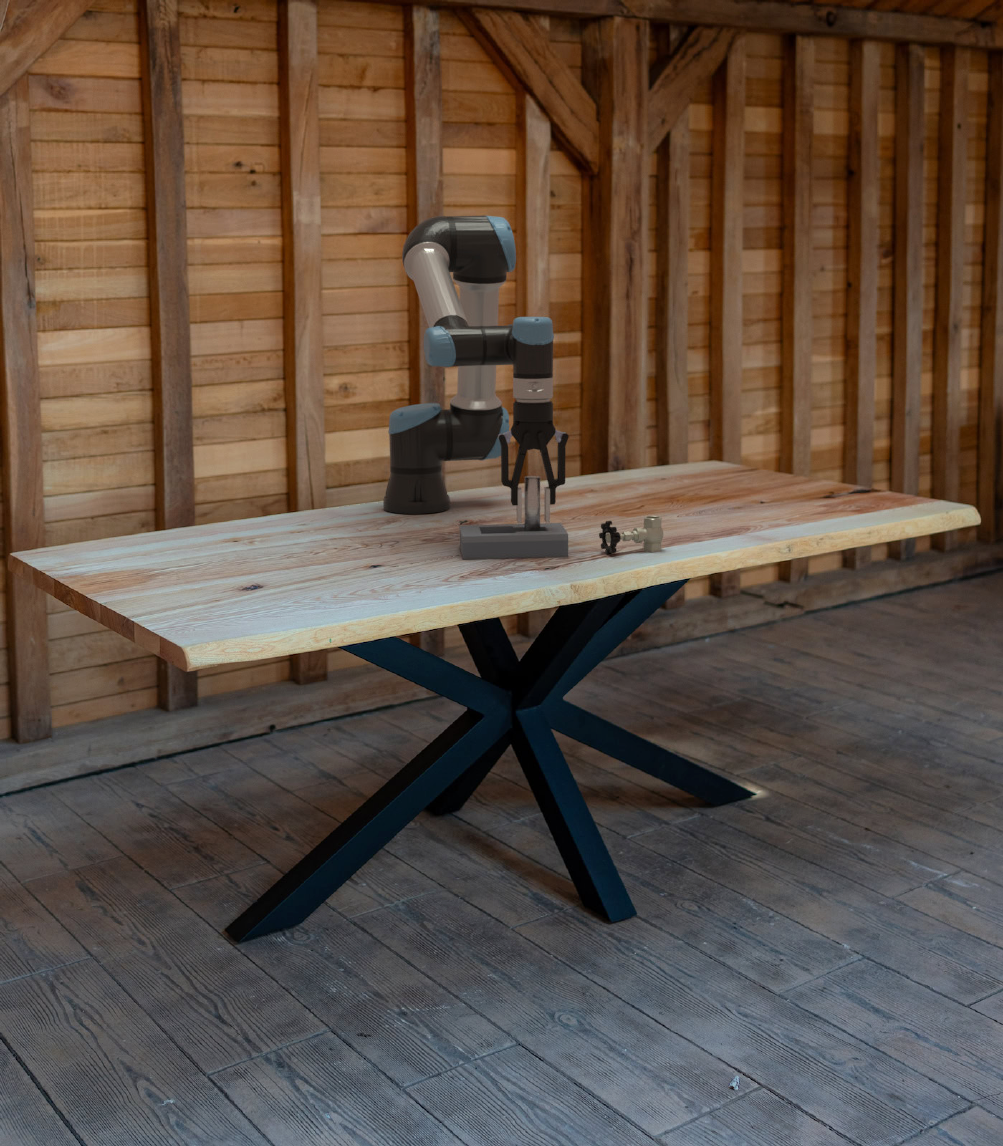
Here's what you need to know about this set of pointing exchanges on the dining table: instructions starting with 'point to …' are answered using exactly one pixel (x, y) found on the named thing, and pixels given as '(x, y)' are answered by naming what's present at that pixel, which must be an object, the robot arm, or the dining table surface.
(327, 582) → the dining table surface
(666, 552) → the dining table surface
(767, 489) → the dining table surface
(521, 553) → the keyhole board
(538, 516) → the flanged metal peg
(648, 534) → the valve
